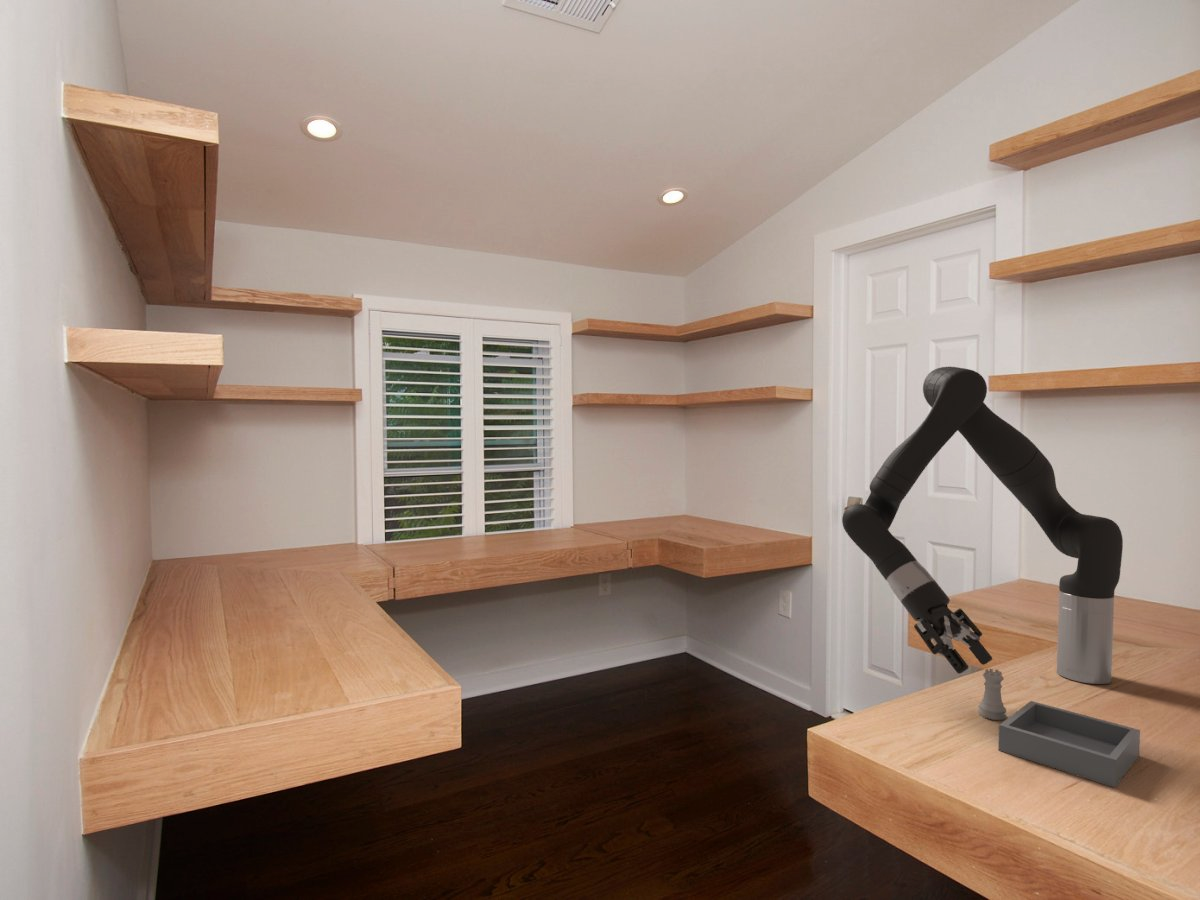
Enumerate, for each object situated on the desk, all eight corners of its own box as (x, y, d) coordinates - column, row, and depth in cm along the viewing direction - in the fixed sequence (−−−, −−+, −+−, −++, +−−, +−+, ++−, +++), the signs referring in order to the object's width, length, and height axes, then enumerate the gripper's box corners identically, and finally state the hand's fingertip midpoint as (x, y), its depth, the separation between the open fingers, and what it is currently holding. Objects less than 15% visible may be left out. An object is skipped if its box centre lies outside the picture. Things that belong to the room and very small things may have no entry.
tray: (1030, 723, 118) (1030, 700, 118) (1139, 755, 107) (1140, 730, 107) (998, 750, 108) (999, 725, 108) (1115, 788, 97) (1115, 760, 97)
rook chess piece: (971, 712, 123) (972, 668, 123) (990, 709, 124) (991, 665, 124) (993, 723, 119) (995, 677, 118) (1012, 719, 120) (1014, 674, 120)
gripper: (910, 583, 126) (972, 663, 117) (950, 575, 134) (1011, 649, 125) (882, 606, 131) (940, 684, 122) (923, 596, 139) (980, 669, 130)
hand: (976, 666), depth 124 cm, fingers open, 8 cm apart
